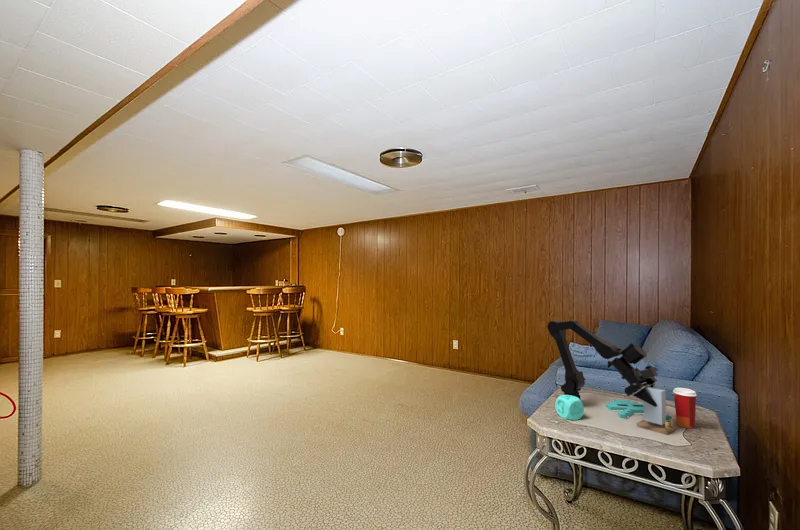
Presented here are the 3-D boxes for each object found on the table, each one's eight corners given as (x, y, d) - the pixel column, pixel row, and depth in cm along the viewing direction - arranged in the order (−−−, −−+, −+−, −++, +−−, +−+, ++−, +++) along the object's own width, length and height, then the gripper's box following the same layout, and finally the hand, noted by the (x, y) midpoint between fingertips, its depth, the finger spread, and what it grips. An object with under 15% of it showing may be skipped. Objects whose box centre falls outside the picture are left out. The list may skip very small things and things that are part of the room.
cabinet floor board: (636, 426, 142) (636, 415, 143) (644, 421, 147) (644, 411, 147) (667, 435, 134) (667, 423, 134) (674, 429, 139) (674, 418, 139)
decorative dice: (584, 419, 149) (584, 399, 150) (568, 421, 147) (568, 401, 147) (570, 412, 157) (569, 394, 157) (555, 414, 155) (554, 395, 155)
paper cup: (691, 422, 146) (690, 388, 147) (702, 430, 139) (701, 393, 140) (669, 421, 148) (668, 386, 149) (679, 428, 141) (678, 392, 141)
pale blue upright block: (643, 420, 142) (643, 388, 143) (648, 417, 145) (647, 386, 145) (661, 425, 137) (661, 392, 138) (665, 422, 140) (665, 389, 141)
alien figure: (671, 421, 149) (643, 405, 168) (671, 416, 149) (643, 400, 169) (620, 419, 151) (599, 403, 170) (620, 414, 151) (599, 399, 171)
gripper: (632, 362, 140) (667, 398, 130) (650, 356, 151) (683, 389, 142) (611, 378, 146) (643, 414, 136) (630, 371, 157) (660, 404, 147)
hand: (658, 405), depth 140 cm, fingers closed on pale blue upright block, 4 cm apart
